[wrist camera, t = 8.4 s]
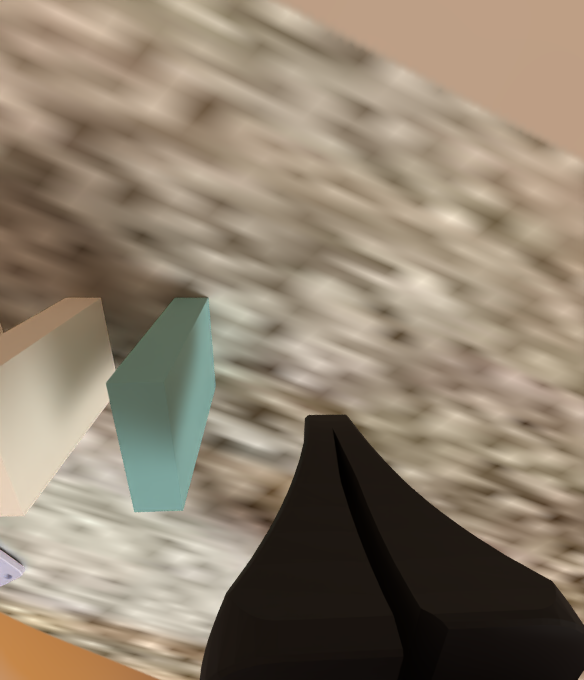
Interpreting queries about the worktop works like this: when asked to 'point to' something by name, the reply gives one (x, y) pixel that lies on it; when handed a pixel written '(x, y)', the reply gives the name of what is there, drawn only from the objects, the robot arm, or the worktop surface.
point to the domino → (49, 394)
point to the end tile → (164, 404)
